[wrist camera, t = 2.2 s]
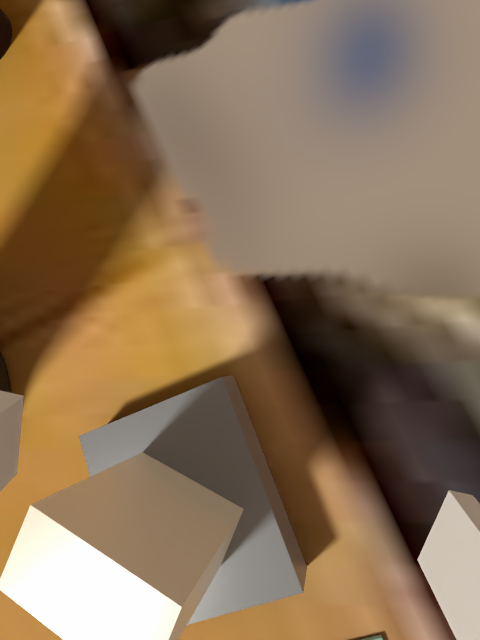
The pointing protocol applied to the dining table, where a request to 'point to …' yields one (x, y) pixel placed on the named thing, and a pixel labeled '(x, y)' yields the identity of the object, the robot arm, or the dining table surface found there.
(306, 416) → the dining table surface
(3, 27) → the coffee mug
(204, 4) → the dining table surface
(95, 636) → the block
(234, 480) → the plate
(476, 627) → the robot arm
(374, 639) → the mat
